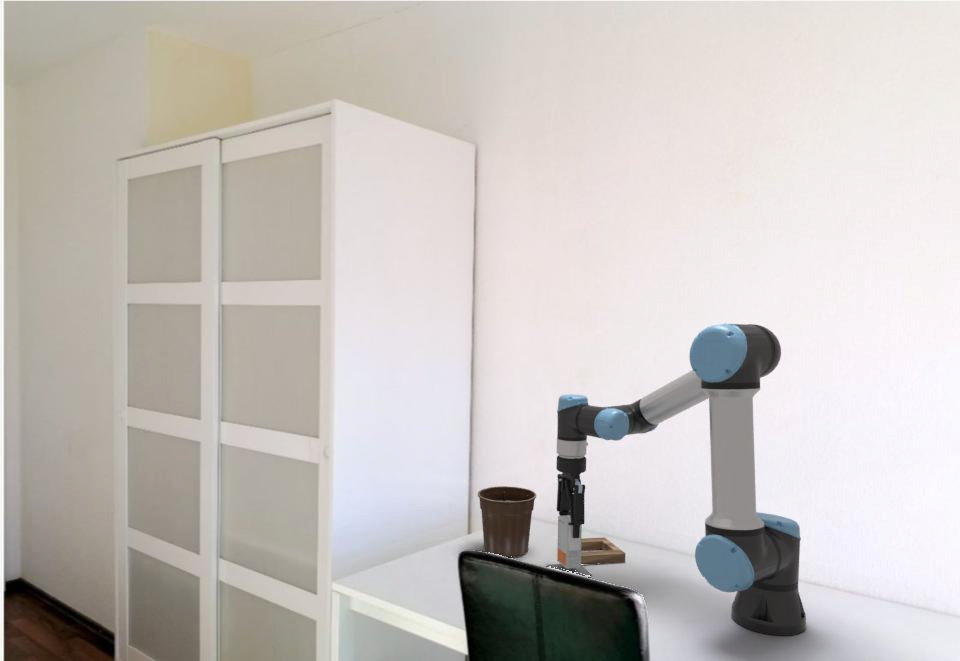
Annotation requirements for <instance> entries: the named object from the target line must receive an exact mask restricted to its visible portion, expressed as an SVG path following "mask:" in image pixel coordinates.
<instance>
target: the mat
mask: <svg viewBox="0 0 960 661" xmlns="http://www.w3.org/2000/svg"><path fill="white" fill-rule="evenodd" d="M546 565H547V566H546ZM546 565H545V568H547V567H549V566H551V568H554V567H555V569H559V570H562V571H566V570H569V571H572V573H574V572H578V573H576V574H579V575H582V576H585V575H590V576H592V575H593V574H592V573H591V572H590V571H588V570H587V568H585V567H584V565H581V568H572V569H566V568H565V567H564V566H563V565H562V564H560V563H555V564H546ZM556 567H557V568H556ZM561 568H562V569H561ZM563 569H565V570H563ZM575 570H576V571H575ZM569 571H567V572H569ZM580 573H582V574H580ZM583 574H585V575H583ZM592 577H593V576H592Z"/></svg>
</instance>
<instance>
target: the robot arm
mask: <svg viewBox="0 0 960 661" xmlns="http://www.w3.org/2000/svg"><path fill="white" fill-rule="evenodd" d="M688 357H689V364H690V367H691V369H692V370H690V371H688V372H686V373H684V374H682V375H681V376H678V377H677V378H675V379H673V380H672V381H670V382H668V383H666V384H665V385H663V386H661V387H659V388H657V389H656V390H653V391H652V392H651V393H648V394H647V395H644V396H642V398H639V399H638V400H636V401H634V402H632V403H630V404H622V405H613V406H598V405H597V406H595V405H589V399H588V397H587V396H586V395H583V394H569V393H568V394H563V395H560V396H559V398H558V403H557V411H556V412H557V413H556V414H557V437H556V454H557V456H556V471H558V472H559V473H558V474H557V476H556V477H557V492H556V493H557V494H556V495H557V496H556V497H557V498H556V511H557V512H558V515H559V516H565V515H570V518H571V523H568V525H569V551H573V550H580V525H581V524H582V525H584V524H585V492H586V485H585V484H582V482H581V481H582V480H581V474H583V473H585V472H586V471H587V457H586V455H587V446H588V445H589V443H588V441H587V439H588V437H594V438H599V439H602V440H605V441H621V440H622V439H624V437H626V436H628V435H629V436H630V435H631V436H632V435H636V434H637V435H638V434H641V435H642V434H646V433H649V432H652V431H654V430H655V429H657V427H658V426H659V425H660V424H661V423H663V422H664V421H666V420H669V419H670V418H672V417H675V416H676V415H679V414H681V413H682V412H685V411H687V410H688V409H689V410H690V409H691V408H692V407H694V406H696V405H698V404H700V403H702V402H705V401H706V400H708V403H709V406H708V407H709V409H708V410H709V412H708V413H709V439H710V440H709V441H710V443H709V444H710V466H711V467H710V473H711V474H710V475H711V476H710V477H711V506H712V507H711V508H712V509H711V513H710V515H708V516H707V517H706V518H705V521H704V527H705V528H704V530H705V532H704V533H705V535H704V536H703V537H702V538H701V539H700V540H699V542H698V543H697V544H696V547H695V551H694V559H695V560H694V561H695V563H696V566H697V569H698V571H699V573H700V575H701V577H703V578H704V579H705V580H706V582H707V583H708V584H709V585H710V586H712V587H713V588H715V589H716V590H718V591H720V592H725V593H736V594H735V596H734V600H733V602H732V603H731V614H730V615H731V617H732V618H731V619H733V621H734V622H736V623H737V624H738V625H740V626H741V627H744V628H746V629H748V630H751V631H754V632H757V633H761V634H765V635H771V636H795V635H799V634H801V633H803V632H804V631H805V630H806V627H807V617H806V616H807V614H806V613H805V609H804V605H803V601H802V599H801V595H800V592H799V575H800V574H799V572H800V554H801V553H800V552H801V550H800V549H801V548H800V547H801V530H800V525H799V523H798V522H797V521H795V520H794V519H791V518H788V517H785V516H782V515H777V514H771V513H767V512H766V513H765V512H757V500H756V499H757V497H756V495H757V494H756V469H755V468H756V467H755V465H756V463H755V460H756V459H755V432H754V431H755V429H754V426H755V425H754V401H753V400H754V397H755V395H756V394H758V392H759V391H761V378H764V377H766V376H768V375H769V374H771V373H773V372H774V370H775V369H776V368H778V365H779V363H780V361H781V358H782V347H781V343H780V341H779V339H778V337H777V336H776V335H775V334H774V332H773V331H771V330H770V329H769V328H766V327H765V326H763V325H760V324H750V323H749V324H745V323H744V324H742V323H741V324H739V323H726V322H725V323H722V324H721V323H719V324H715V325H710V326H707V327H706V328H703V329H702V330H701V331H700V332H699V333H698V334H697V335H696V336H695V338H694V339H693V341H692V342H691V346H690V349H689V356H688Z"/></svg>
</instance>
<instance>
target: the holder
mask: <svg viewBox="0 0 960 661" xmlns="http://www.w3.org/2000/svg"><path fill="white" fill-rule="evenodd" d="M600 549H601V550H600ZM583 550H590V551H583ZM619 562H620V563H619ZM621 562H625V563H626V552H624V551H623V550H622V549H621V548H619V547H618V546H616V545H615V544H614V543H612V542H611V541H610V540H609V539H608V538H606V537H605V536H604V537H602V536H601V537H587V538H581V564H596V565H599V564H598V563H611V564H622V563H621Z"/></svg>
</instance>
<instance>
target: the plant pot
mask: <svg viewBox="0 0 960 661" xmlns="http://www.w3.org/2000/svg"><path fill="white" fill-rule="evenodd" d="M477 497H478V498H479V508H480V510H481V520H482V521H481V523H482V533H483V536H482V537H483V549H484V552H485V553H486V552H490V553H494V554H499V555H502V556H506V558H507V557H511V556H512V557H511V558H513V559H514V558H517V557H518V556H520V557H522V555H523V556H524V555H525V556H526V554H527V553H528V552H529V542H530V535H531V534H530V533H531V524H532V514H533V511H534V509H535V508H534V506H535V499H537V493H536V492H535V491H533V490H531V489H528V488H525V487H517V486H505V485H504V486H503V485H502V486H501V485H500V486H491V487H486V488H482V489H480V490H479V491H478V492H477Z"/></svg>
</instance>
